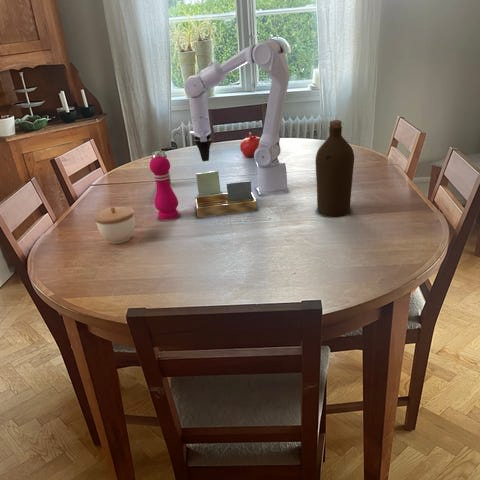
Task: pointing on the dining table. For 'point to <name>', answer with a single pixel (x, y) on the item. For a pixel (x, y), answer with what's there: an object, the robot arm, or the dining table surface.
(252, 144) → the pomegranate
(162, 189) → the pepper mill
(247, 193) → the blue coaster
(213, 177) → the sage coaster
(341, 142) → the olive oil
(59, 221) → the dining table surface
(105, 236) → the trinket box
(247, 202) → the coaster basket
